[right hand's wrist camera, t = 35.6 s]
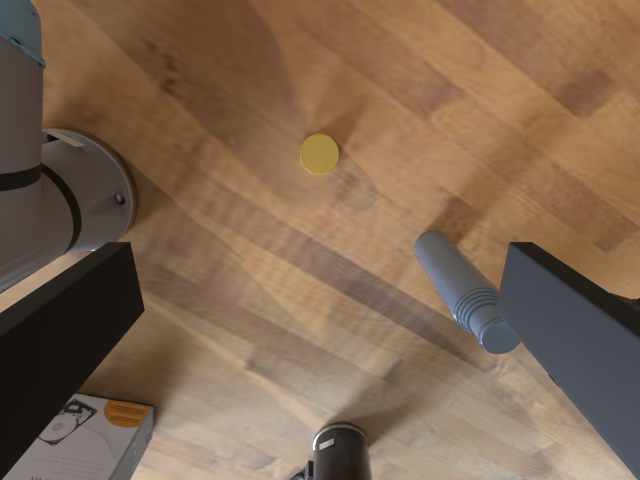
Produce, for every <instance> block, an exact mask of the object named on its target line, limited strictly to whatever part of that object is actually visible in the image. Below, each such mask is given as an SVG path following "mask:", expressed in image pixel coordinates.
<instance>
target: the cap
mask: <svg viewBox="0 0 640 480" xmlns="http://www.w3.org/2000/svg"><path fill="white" fill-rule="evenodd" d="M339 155H340V154H339V149H338V145H337V144H336V141H334V139H333V138H332V137H330V136H329V135H327V134H325V133H324V134H323V133H315V134H313V135H311V136H309V137H307V139H306V140H304V143H303V144H302V147H301V149H300V159H301V162H302V164H303V166H304V167H305V168H306V169H307V170H308V171H310V172H312V173H314V174H325V173H328V172H330V171H331V170H332V169H333V168H334V167H335V166H336V164H337V162H338V160H339Z"/></svg>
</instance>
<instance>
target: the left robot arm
mask: <svg viewBox="0 0 640 480" xmlns="http://www.w3.org/2000/svg"><path fill="white" fill-rule="evenodd" d="M610 294H611V295H613V296H614V297H616V298H618V299H619V300H621V301H622V302H624V303H625V304H627V305H628V306H630V307H631V308H633V309H634V310H636V311H637V312H639V313H640V298H639V299H629V298H626V297H622V296H619V295H616V294H612V293H610ZM549 377H550V378H551V379H552V380H553V378H552V377H551V376H550V375H549ZM553 381H554V380H553ZM554 382H555V381H554ZM555 383H556V382H555ZM556 385H557V386H558V384H557V383H556ZM313 448H314V461H308V463H307V465H306V468H305V474H297V475H295V476H294V477H292V478H291V480H298V479H303V480H372V474H371V466H370V459H369V452H368V440H367V437H366V435H365V433H364V432H363V431H362V430H361V429H360V428H358V427H356V426H354V425H351V424H346V423H337V424H331V425H328V426H326V427H324V428H322V429H321V430H320V431H319V432H318V433H317V434H316V436H315V438H314V443H313Z"/></svg>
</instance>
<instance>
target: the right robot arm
mask: <svg viewBox="0 0 640 480" xmlns="http://www.w3.org/2000/svg"><path fill="white" fill-rule="evenodd" d="M43 69H46V63H45V60H44V59H43V58H42V39H41V21H40V17H39V14H38V12H37V10H36V8H35V7H34V5H33V4H32V3H31V2H30V0H0V294H1V293H2V292H4V291H6V290H7V289H9V288H10V287H12V286H14V285H15V284H17V283H18V282H20V281H22V280H23V279H25V278H26V277H28V276H30V275H31V274H33V273H34V272H36V271H38V270H39V269H41V268H43V267H44V266H46V265H47V264H49V263H51V262H52V261H54V260H55V259H57V258H58V257H60V256H62V255H65V254H72V253H78V252H85V251H93V250H95V251H94V252H92V253H91V254H89V255H88V256H86V257H85V258H83V259H82V260H80V261H79V262H77V263H76V264H74V265H73V266H71V267H70V268H68V269H66V270H65V271H63V272H62V273H60V274H59V275H57V276H56V277H54V278H53V279H51V280H50V281H48V282H47V283H45V284H44V285H42V286H41V287H39V288H38V289H36V290H35V291H33V292H32V293H30V294H29V295H27V296H26V297H24V298H22V299H21V300H19V301H18V302H16V303H15V304H13V305H12V306H10V307H9V308H7V309H6V310H4V311H3V312H1V313H0V480H2V479H3V478H4V477H5V476H6V475H7V473H8V472H9V471H10V470H11V469H12V468H13V466H14V465H15V464H16V463H17V462H18V460H19V459H20V458H21V457H22V456H23V454H24V453H25V452H26V451H27V450H28V449H29V447H30V446H31V445H32V444H33V443H34V441H35V440H36V439H37V438H38V437H39V435H40V434H41V433H42V432H43V431H44V430H45V428H46V427H47V426H48V425H49V424H50V422H51V421H52V420H53V419H54V418H55V416H56V415H57V414H58V413H59V412H60V411H61V409H62V408H63V407H64V406H65V405H66V403H67V402H68V401H69V400H70V399H71V397H72V396H73V395H74V394H75V393H76V392H77V390H78V389H79V388H80V387H81V386H82V384H83V383H84V382H85V381H86V380H87V378H88V377H89V376H90V375H91V374H92V373H93V371H94V370H95V369H96V368H97V367H98V365H99V364H100V363H101V362H102V361H103V359H104V358H105V357H106V356H107V355H108V354H109V352H110V351H111V350H112V349H113V348H114V346H115V345H116V344H117V343H118V342H119V341H120V339H121V338H122V337H123V336H124V335H125V333H126V332H127V331H128V330H129V329H130V327H131V326H132V325H133V324H134V323H135V322H136V320H137V319H138V318H139V317H140V316H141V314H142V313H143V312H144V311H145V309H144V304H143V300H142V295H141V290H140V286H139V281H138V276H137V272H136V267H135V262H134V258H133V253H132V248H131V244H130V242H114V241H116V240H117V239H119V238H120V237H122V236H123V235H124V234H125V233H126V232H127V231H128V230H129V228H130V227H131V226H132V224H133V222H134V220H135V217H136V214H137V208H138V194H137V189H136V185H135V182H134V179H133V177H132V175H131V172H130V171H129V169H128V167H127V166H126V164H125V163H124V161H123V160H122V159H121V158H120V156H119V155H118V154H117V153H116V152H115V151H114V150H113V149H112V148H111V147H109V146H108V145H107V144H106V143H104V142H103V141H101V140H100V139H98V138H96V137H94V136H92V135H90V134H88V133H86V132H83V131H80V130H75V129H70V128H49V129H42V108H43ZM495 311H496V312H497V313H498V314H499V316H500V317H501V318H502V319H503V320H504V322H505V323H506V324H507V325H508V326H509V327H510V329H511V330H512V331H513V332H514V333H515V335H516V336H517V337H518V338H519V339H520V341H521V342H522V343H523V344H524V345H525V346H526V348H527V349H528V350H529V351H530V352H531V354H532V355H533V356H534V357H535V358H536V359H537V361H538V362H539V363H540V364H541V365H542V367H543V368H544V369H545V370H546V371H547V373H548V374H549V375H550V376H551V377H552V378H553V380H554V381H555V382H556V383H557V384H558V386H559V387H560V388H561V389H562V390H563V392H564V393H565V394H566V395H567V396H568V397H569V399H570V400H571V401H572V402H573V403H574V405H575V406H576V407H577V408H578V409H579V411H580V412H581V413H582V414H583V415H584V416H585V418H586V419H587V420H588V421H589V422H590V424H591V425H592V426H593V427H594V428H595V430H596V431H597V432H598V433H599V434H600V435H601V437H602V438H603V439H604V440H605V441H606V443H607V444H608V445H609V446H610V447H611V449H612V450H613V451H614V452H615V453H616V454H617V456H618V457H619V458H620V459H621V460H622V462H623V463H624V464H625V465H626V466H627V468H628V469H629V470H630V471H631V472H632V473H633V475H634V476H635V477H636V478H637V479H638V480H640V313H639V312H637V311H636V310H634V309H633V308H631V307H630V306H628V305H627V304H625V303H624V302H622V301H621V300H619V299H618V298H616V297H614V296H613V295H611V294H610V293H608V292H607V291H605V290H604V289H602V288H601V287H599V286H598V285H596V284H595V283H593V282H592V281H590V280H589V279H587V278H586V277H584V276H583V275H581V274H580V273H578V272H577V271H575V270H574V269H572V268H570V267H569V266H567V265H566V264H564V263H563V262H561V261H560V260H558V259H557V258H555V257H554V256H552V255H551V254H549V253H548V252H546V251H545V250H543V249H542V248H540V247H539V246H537V245H536V244H534V243H533V242H510V244H509V248H508V253H507V258H506V262H505V267H504V272H503V276H502V281H501V286H500V290H499V295H498V300H497V304H496V309H495Z"/></svg>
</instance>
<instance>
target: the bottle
mask: <svg viewBox="0 0 640 480" xmlns="http://www.w3.org/2000/svg"><path fill="white" fill-rule="evenodd" d="M414 255H415V257H416V258H417V260H418V262H419V263H420V265H421V267H422V268H423V270H424V271H425V273H426V275H427V276H428V278H429V280H430V281H431V283H432V284H433V286H434V288H435V289H436V291H437V292H438V294H439V296H440V297H441V299H442V301H443V302H444V304H445V305H446V307H447V309H448V310H449V312H450V313H451V315H452V317H453V318H454V320H455V322H456V323H457V324H458V326H460V327H461V328H462V329H463V330H465V331H467V332H469V333H471V334H473V335H475V336H476V338H477V339H478V342H479V344H480V345H481V347H482V348H483V349H484V350H486V351H487V352H489V353H492V354H504V353H507V352H509V351H511V350H513V349H514V348H515V347H516V346H517V345H518V344H519V343H520V339H519V338H518V337H517V336H516V335H515V333H514V332H513V331H512V330H511V329H510V327H509V326H508V325H507V324H506V323H505V322H504V320H503V319H502V318H501V317H500V316H499V314H498V313H497V312H496V311H495V309H496V304H497V300H498V295H499V290H498V289H497V288H496V287H495V286H494V285H493V284H492V283H491V282H490V281H489V280H488V279H487V278H486V277H485V276H484V275H483V273H482V272H481V271H480V270H479V269H478V268H477V267H476V266H475V265H474V264H473V263H472V262H471V261H470V260H469V259H468V258H467V257H466V256H465V255H464V253H463V252H462V251H461V250H460V249H459V248H458V247H457V246H456V245H455V244H454V243H453V242H452V241H451V240H450V239H449V238H448V237H447V236H446V235H445V234H444V233H442V232H439V231H430V232H427V233H425V234H423V235H421V236H420V237H419V238H418V239H417V241H416V243H415V245H414Z"/></svg>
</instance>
